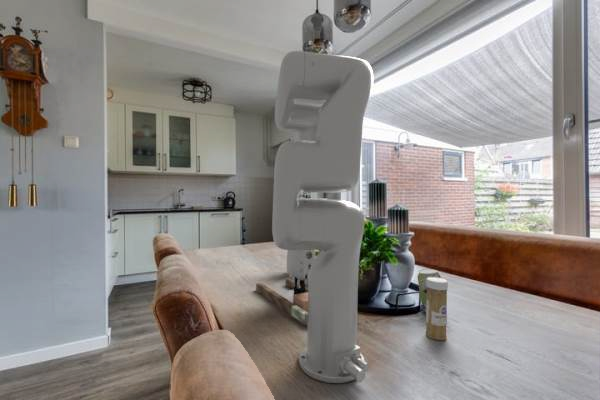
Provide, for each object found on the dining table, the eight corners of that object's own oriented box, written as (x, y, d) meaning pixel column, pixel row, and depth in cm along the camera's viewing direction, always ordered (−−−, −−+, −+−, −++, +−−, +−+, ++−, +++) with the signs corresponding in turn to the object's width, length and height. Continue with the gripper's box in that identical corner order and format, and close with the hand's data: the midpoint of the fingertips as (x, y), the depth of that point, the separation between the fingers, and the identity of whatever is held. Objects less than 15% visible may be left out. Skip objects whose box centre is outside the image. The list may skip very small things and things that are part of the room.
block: (321, 312, 79) (322, 297, 79) (303, 316, 76) (304, 301, 76) (310, 304, 84) (310, 291, 84) (293, 308, 81) (293, 294, 81)
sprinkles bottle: (440, 343, 63) (441, 283, 63) (421, 335, 66) (422, 278, 66) (450, 337, 65) (451, 279, 65) (431, 329, 69) (432, 275, 69)
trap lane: (369, 310, 81) (369, 299, 81) (307, 327, 69) (307, 315, 69) (308, 281, 108) (308, 273, 108) (256, 290, 97) (256, 281, 97)
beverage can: (448, 318, 76) (449, 274, 76) (419, 315, 78) (420, 272, 77) (441, 309, 82) (442, 268, 82) (414, 307, 84) (415, 267, 84)
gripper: (325, 242, 81) (324, 305, 81) (297, 235, 93) (297, 290, 93) (303, 244, 77) (302, 311, 77) (277, 237, 89) (276, 294, 89)
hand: (299, 299), depth 85 cm, fingers closed
